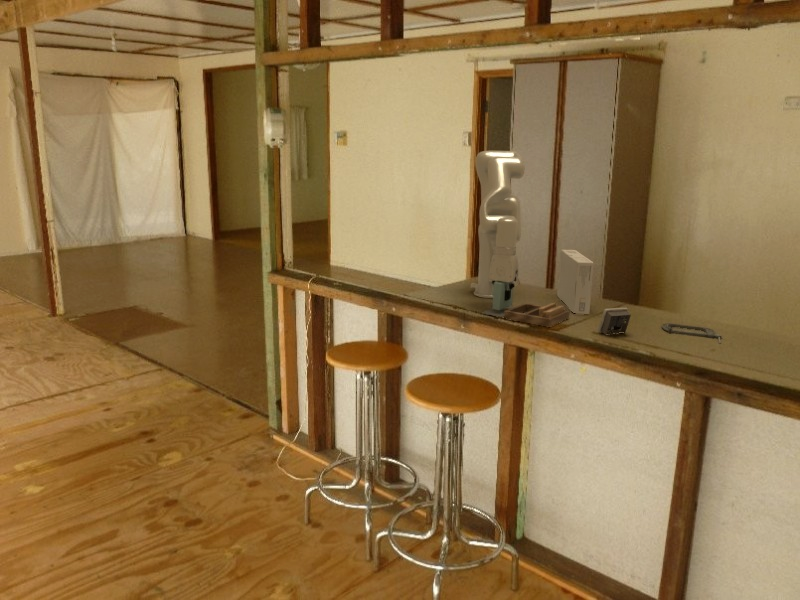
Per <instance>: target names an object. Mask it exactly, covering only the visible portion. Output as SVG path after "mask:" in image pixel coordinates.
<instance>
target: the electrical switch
mask: <svg viewBox="0 0 800 600" xmlns="http://www.w3.org/2000/svg"><path fill="white" fill-rule="evenodd" d="M631 316H632V314H630V313H629V308H628V307H614V308H613V307H612V308H605V309H604V310H603V312H602V315H601V319H600V322H599V325H598V329H597V331H598V333H599V334H604V336H607V335H606V334H613V333H619V332H624V334H626V331H627V328H628V325H629V322H630V319H631ZM612 331H613V332H612Z"/></svg>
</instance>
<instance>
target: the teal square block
mask: <svg viewBox="0 0 800 600" xmlns="http://www.w3.org/2000/svg"><path fill="white" fill-rule="evenodd" d="M513 283H515V281H513ZM505 290H506V282H499V281H498V282H495V283H494V288H493V298H492V307H491V309H496V310H501V309H504V308H506V307H509V306H510V307H513V301H514V300H513V296H514V288H513V289H511V298H510V300H507V301H505Z"/></svg>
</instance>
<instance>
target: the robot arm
mask: <svg viewBox="0 0 800 600" xmlns="http://www.w3.org/2000/svg"><path fill="white" fill-rule="evenodd" d="M475 169H476V174H477V176H478V180H479V183H480V196H481V197H480V201H481V203H480V206H479V213H478V214H479V225H478V228H477V229H478V231H477V232H478V243H479V244H478V245H479V255H478V256H479V257H478V276H477V277H478V278H477V283H476V282H471V283H470V288H471V289H475V290H474V291H473V295H474V296H476V297H479V298H484V299H493V288H494V283H495V282H498V281H499V282H506V290H505V301H507V300H510V298H511V289H513V290H514V288H515V287H516V286H518V285H520V284H521V281H520V278H519V262H518V261H519V260H518V256H517V255H516V253H517V252H516V251H517V243H519V241H521V237H522V221H521V219H522V218H521V217H522V216H521V215H522V214H521V202H520V200H519V198H518V196H517V195H513V194H512V186H511V185H512V184H511V183H512V182H511V180H513V179H514V180H516V179H518V180H519V179H522V178H523V176H524V174H525V169H526V168H525V162H524V159H523V158H522V156H521V155H520V153H519V152H517V151H515V150H484V151H479V152H478V153H477V155H476V157H475ZM513 281H514V283H513Z"/></svg>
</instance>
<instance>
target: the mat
mask: <svg viewBox="0 0 800 600" xmlns="http://www.w3.org/2000/svg"><path fill="white" fill-rule="evenodd" d="M514 307H515V306H509V307H506V308H504V309H501V310H496V309H492V308H491V309H488V310H485V311H483V312H480V315H482V314H487V315H493V316H498V317H504V311H506V310H508V309H511V308H514ZM487 315H486V316H487ZM498 317H497V318H498Z"/></svg>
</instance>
